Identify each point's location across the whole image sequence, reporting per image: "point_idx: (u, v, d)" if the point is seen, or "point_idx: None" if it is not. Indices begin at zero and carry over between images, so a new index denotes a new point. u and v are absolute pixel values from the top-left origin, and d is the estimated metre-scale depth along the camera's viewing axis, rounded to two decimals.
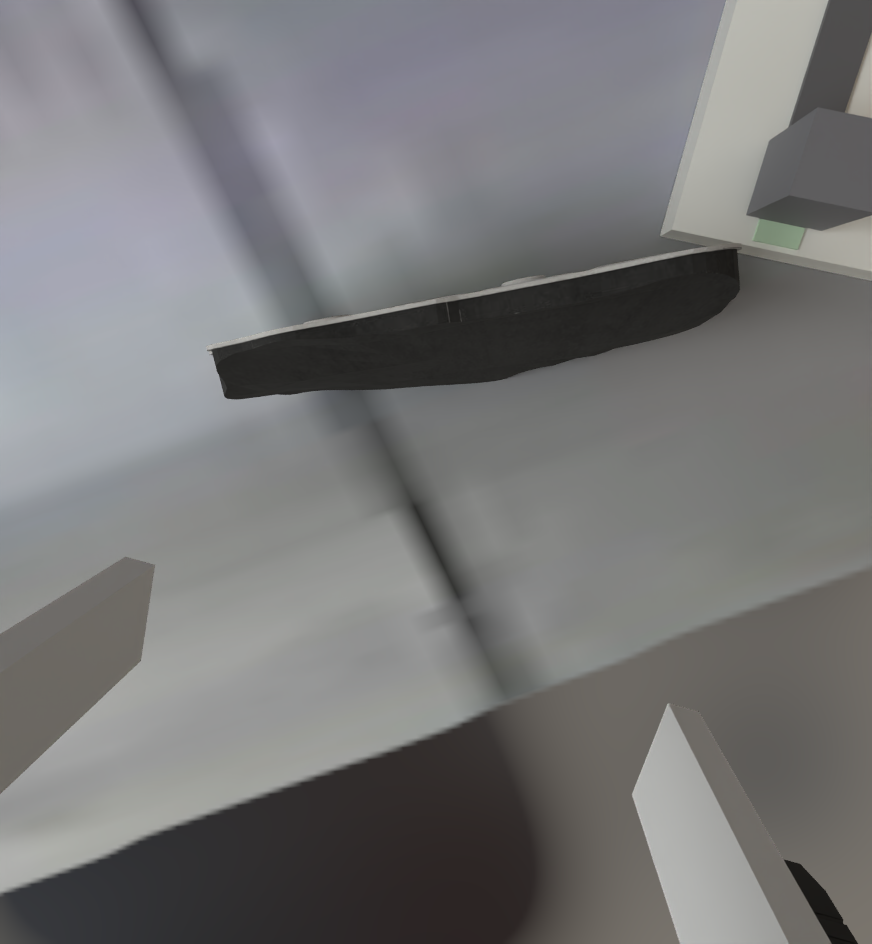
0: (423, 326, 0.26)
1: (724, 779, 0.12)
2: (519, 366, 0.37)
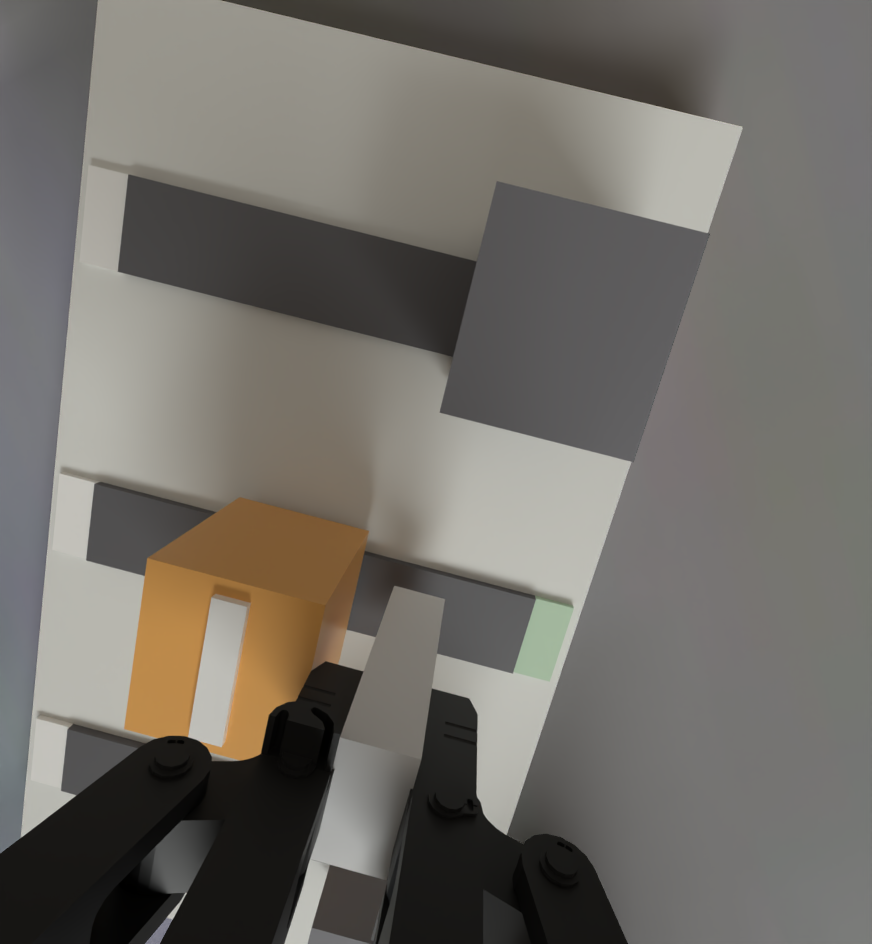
0: None
1: (426, 638, 0.14)
2: None
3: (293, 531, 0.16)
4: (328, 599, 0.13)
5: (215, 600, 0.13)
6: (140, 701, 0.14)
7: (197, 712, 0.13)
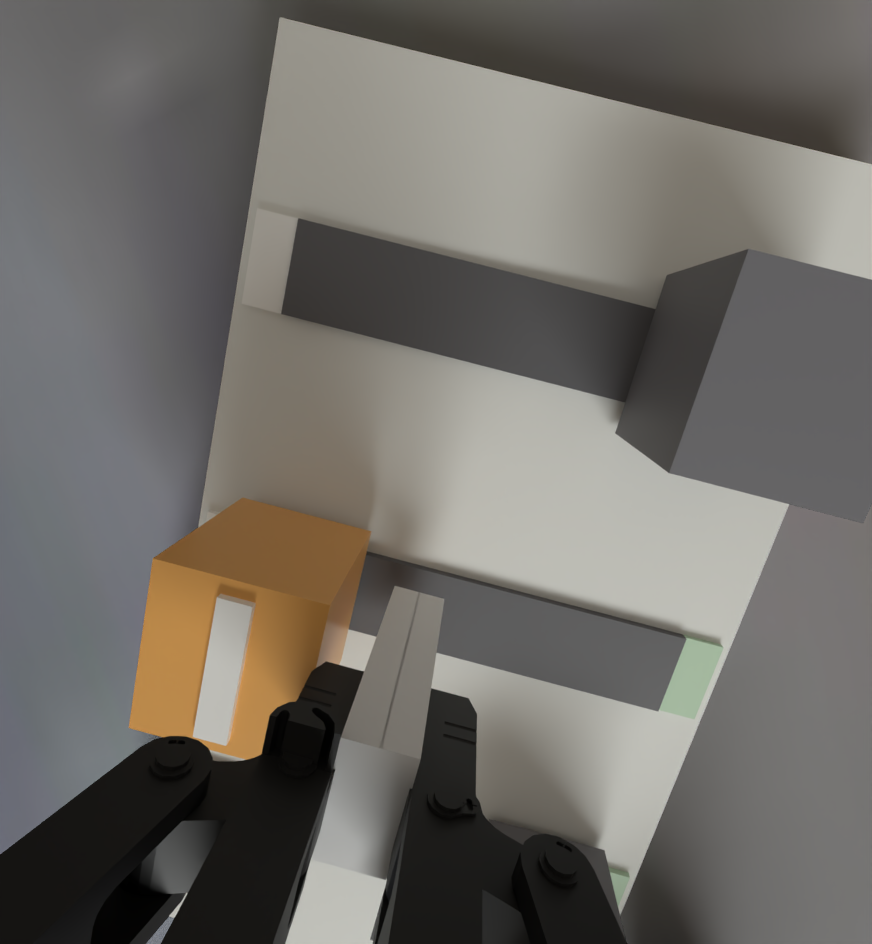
0: None
1: (425, 637, 0.14)
2: None
3: (296, 532, 0.16)
4: (332, 599, 0.13)
5: (220, 600, 0.13)
6: (145, 700, 0.14)
7: (202, 711, 0.14)
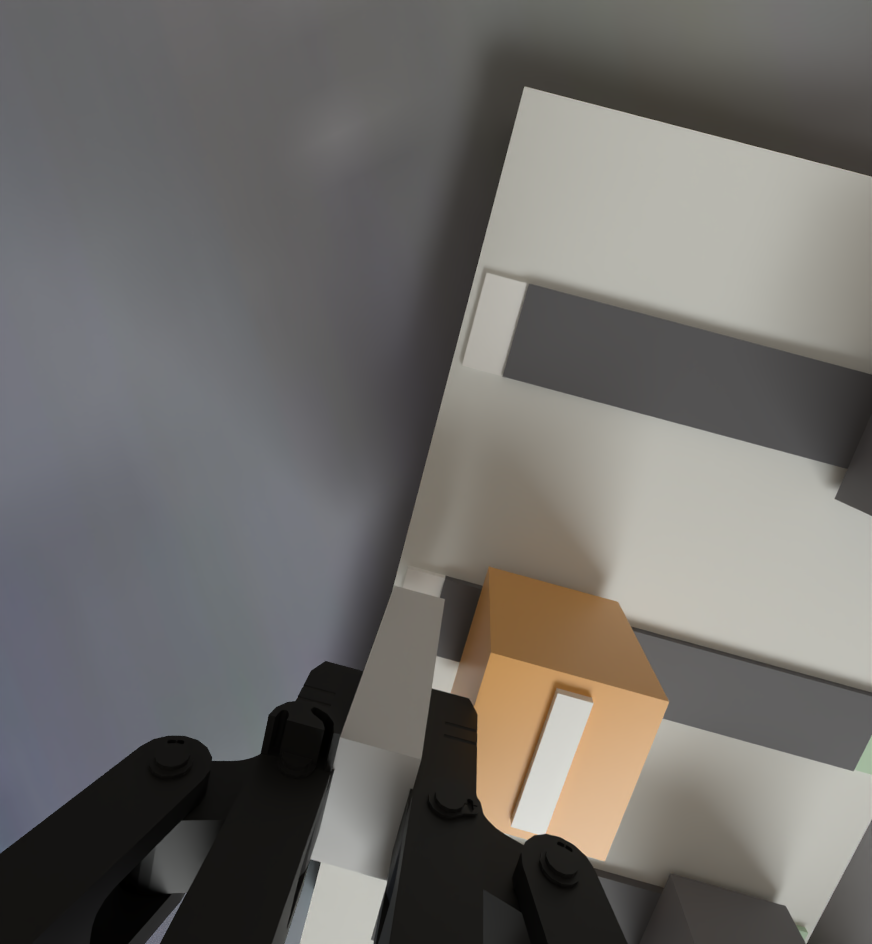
0: None
1: (426, 638, 0.14)
2: None
3: (565, 608, 0.16)
4: (664, 693, 0.13)
5: (562, 696, 0.13)
6: None
7: (525, 802, 0.14)
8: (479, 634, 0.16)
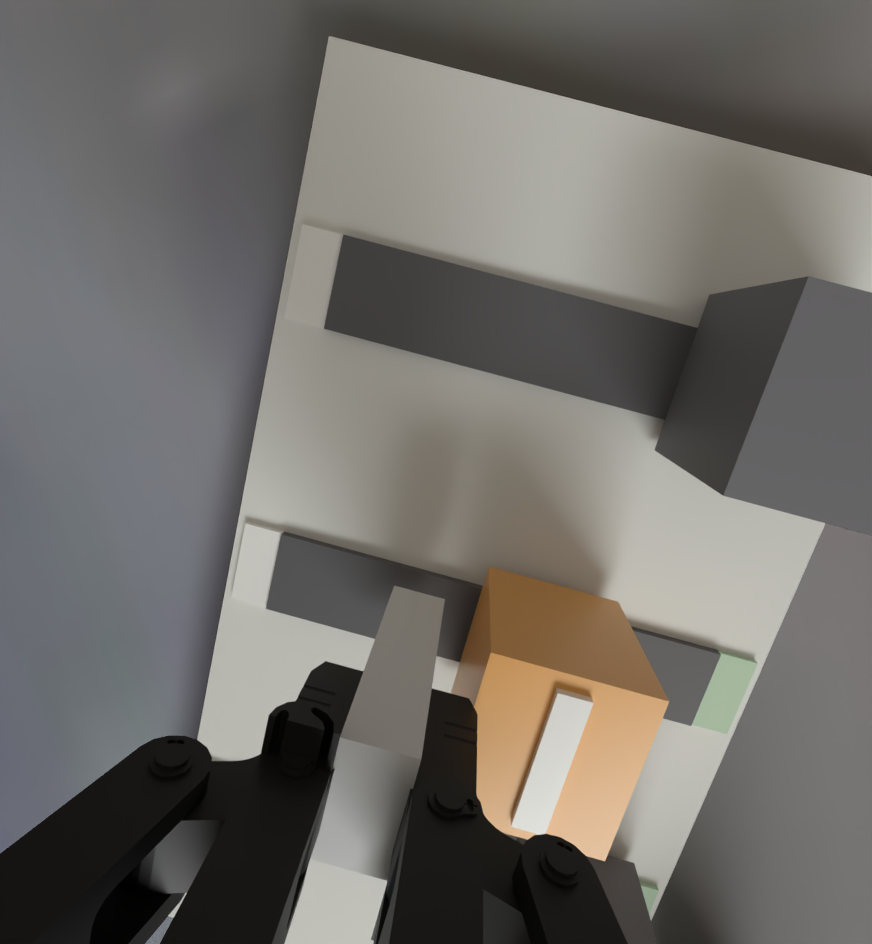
0: None
1: (426, 637, 0.14)
2: None
3: (565, 608, 0.16)
4: (664, 693, 0.13)
5: (562, 696, 0.13)
6: None
7: (525, 802, 0.14)
8: (479, 634, 0.16)
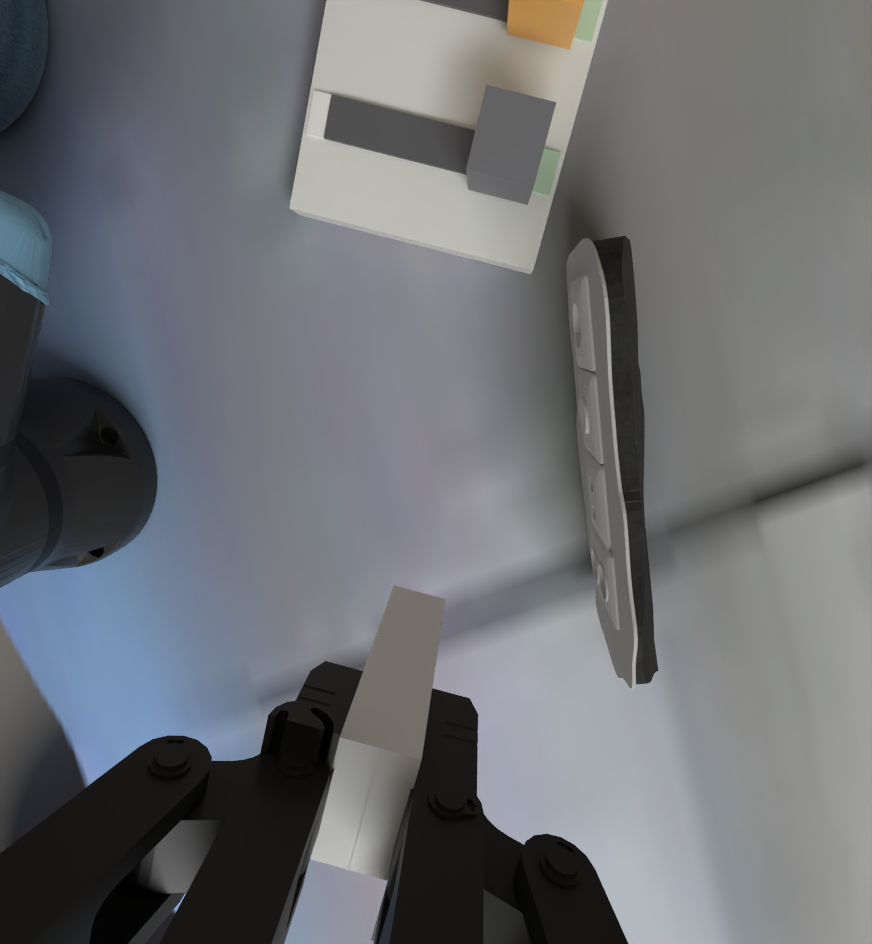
0: (642, 522, 0.31)
1: (426, 638, 0.14)
2: (640, 405, 0.41)
3: None
4: None
5: None
6: None
7: None
8: None
